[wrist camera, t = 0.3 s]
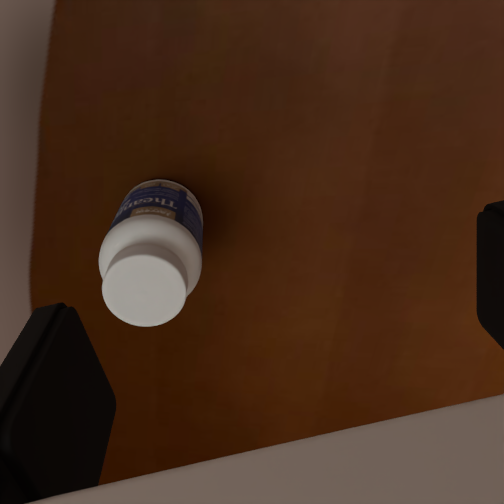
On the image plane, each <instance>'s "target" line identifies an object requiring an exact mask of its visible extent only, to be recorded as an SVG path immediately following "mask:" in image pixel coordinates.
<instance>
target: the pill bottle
mask: <svg viewBox="0 0 504 504" xmlns="http://www.w3.org/2000/svg"><path fill="white" fill-rule="evenodd" d="M202 237H203V217H202V211H201V207H200V205H199V203H198V201H197V199H196V198H195V197H194V195H193V194H192V193H191V192H190V191H189V190H188V189H187V188H185V187H184V186H182V185H180V184H178V183H175V182H172V181H169V180H161V179H156V180H151V181H147V182H144V183H141V184H139V185H138V186H136V187H135V188H133V189H132V190H131V191H130V192H129V193H128V195H127V196H126V197H125V199H124V200H123V202H122V204H121V206H120V208H119V210H118V212H117V214H116V216H115V218H114V220H113V222H112V225H111V227H110V229H109V231H108V233H107V235H106V237H105V239H104V241H103V243H102V246H101V250H100V254H99V268H100V273H101V276H102V279H103V283H102V293H103V298H104V301H105V303H106V305H107V307H108V308H109V309H110V311H111V312H112V313H113V314H114V315H115V316H117V317H118V318H119V319H121V320H123V321H125V322H127V323H129V324H132V325H136V326H156V325H160V324H163V323H165V322H167V321H169V320H171V319H172V318H174V317H175V316H176V315H177V314H178V313H179V312H180V310H181V309H182V307H183V305H184V303H185V300H186V297H187V296H188V295H189V294H190V293H191V291H192V290H193V289H194V287H195V286H196V284H197V282H198V280H199V277H200V273H201V267H202Z"/></svg>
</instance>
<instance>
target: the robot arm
mask: <svg viewBox="0 0 504 504" xmlns="http://www.w3.org/2000/svg"><path fill="white" fill-rule="evenodd" d="M477 316H478V319H479V321H480V323H481V325H482V326H483V328H484V329H485V330H486V331H487V332H488V333H489V334H490V335H491V336H492V337H493V338H494V340H495V341H496V342H497V343H498V344H499V345H500V346H501V347H502V348H503V349H504V200H503V201H499V202H494V203H490V204H487V205H486V206H485V207H484V210H483V212H480V213H479V214H478V216H477ZM115 411H116V399H115V395H114V392H113V390H112V388H111V386H110V384H109V381H108V379H107V377H106V375H105V373H104V370H103V368H102V366H101V364H100V362H99V359H98V357H97V355H96V353H95V351H94V348H93V346H92V344H91V342H90V340H89V337H88V335H87V333H86V331H85V329H84V326H83V324H82V322H81V320H80V318H79V315H78V313H77V311H76V310H75V308H74V307H67V306H66V305H65V304H64V303H57V304H53V305H49V306H44V307H40V308H36V309H35V310H34V312H33V313H32V315H31V317H30V318H29V320H28V322H27V323H26V325H25V327H24V328H23V330H22V331H21V333H20V335H19V337H18V338H17V340H16V341H15V343H14V345H13V346H12V348H11V350H10V351H9V353H8V354H7V356H6V358H5V359H4V361H3V363H2V364H1V366H0V504H504V394H502V395H498V396H493V397H489V398H484V399H480V400H475V401H471V402H466V403H462V404H457V405H453V406H448V407H444V408H439V409H435V410H430V411H426V412H421V413H417V414H412V415H408V416H403V417H399V418H395V419H390V420H386V421H381V422H377V423H372V424H368V425H363V426H359V427H354V428H350V429H345V430H341V431H337V432H332V433H328V434H323V435H319V436H315V437H310V438H306V439H301V440H297V441H293V442H288V443H284V444H279V445H275V446H271V447H266V448H262V449H257V450H253V451H249V452H244V453H240V454H235V455H231V456H226V457H222V458H218V459H213V460H209V461H204V462H200V463H195V464H191V465H187V466H183V467H178V468H174V469H170V470H165V471H161V472H157V473H152V474H148V475H144V476H139V477H135V478H131V479H126V480H122V481H118V482H113V483H109V484H105V485H100V486H98V483H99V479H100V475H101V471H102V466H103V462H104V458H105V454H106V449H107V445H108V441H109V437H110V433H111V428H112V424H113V420H114V416H115Z"/></svg>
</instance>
